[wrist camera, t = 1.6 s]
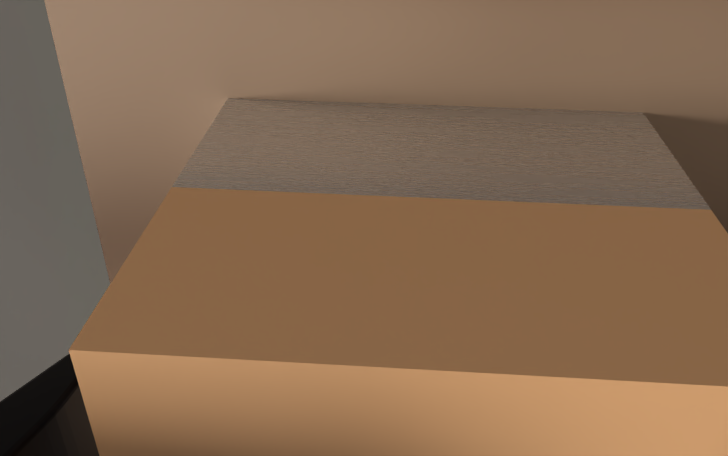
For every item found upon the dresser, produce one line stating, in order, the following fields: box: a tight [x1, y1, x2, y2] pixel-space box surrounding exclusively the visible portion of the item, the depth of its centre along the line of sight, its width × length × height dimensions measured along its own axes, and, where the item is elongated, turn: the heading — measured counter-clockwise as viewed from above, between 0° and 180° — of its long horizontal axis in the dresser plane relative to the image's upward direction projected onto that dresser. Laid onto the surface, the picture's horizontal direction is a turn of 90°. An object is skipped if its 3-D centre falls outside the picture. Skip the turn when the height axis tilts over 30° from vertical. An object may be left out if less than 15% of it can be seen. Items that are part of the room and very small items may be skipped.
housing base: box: [172, 98, 711, 210], centre depth 10 cm, size 7×6×2 cm
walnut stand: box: [44, 0, 728, 284], centre depth 12 cm, size 10×10×2 cm
